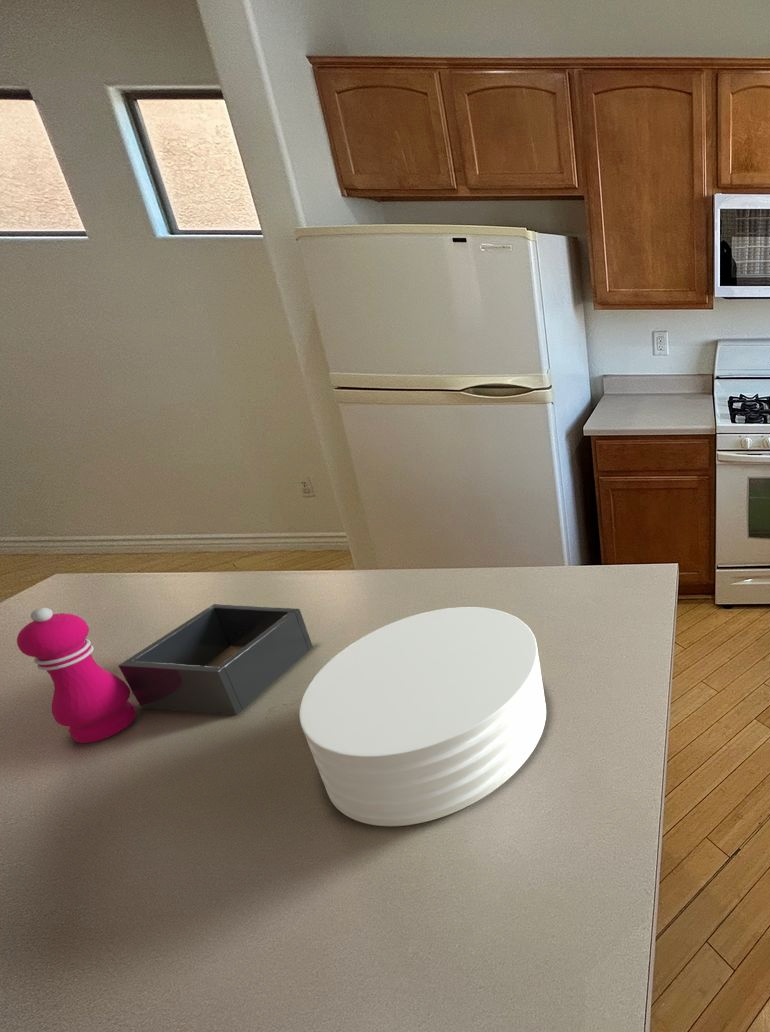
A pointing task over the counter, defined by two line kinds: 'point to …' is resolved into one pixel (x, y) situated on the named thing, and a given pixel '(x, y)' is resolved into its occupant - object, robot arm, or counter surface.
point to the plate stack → (425, 714)
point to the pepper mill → (76, 677)
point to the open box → (187, 649)
